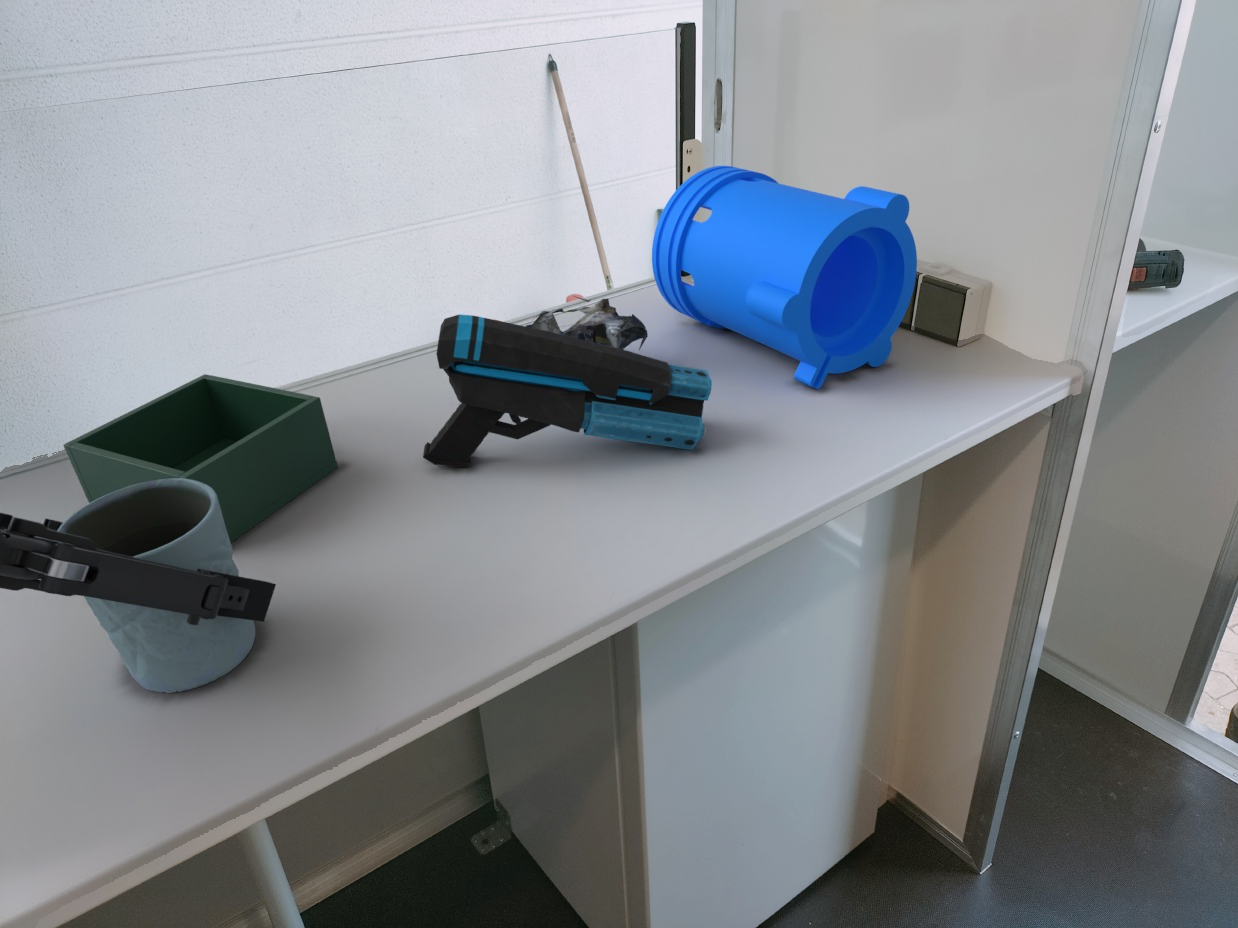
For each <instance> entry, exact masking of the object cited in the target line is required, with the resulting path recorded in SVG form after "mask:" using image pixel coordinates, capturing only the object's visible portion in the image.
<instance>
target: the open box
mask: <svg viewBox="0 0 1238 928" xmlns="http://www.w3.org/2000/svg"><path fill="white" fill-rule="evenodd" d="M321 400H322V399H321V397H320V396H315V395H311V394H305V393H301V392H295V391H291V390H286V389H281V388H276V387H270V386H266V385H261V384H258V383H257V384H256V383H252V382H251V383H250V382H246V381H241V380H237V379H231V378H227V377H222V376H216V375H213V374H207V373H205V374H202V375H200V376H198V377H196V378H195V379H192V380H190V381H188V382H186V383H184V384H182V385H180V386H178V387H176V388H173V389H172V390H170V391H168V392H166V393H164V394H162V395H160V396H158V397H156V398H154V399H152V400H150V401H148V402H145V403H144V404H142V405H140V406H138V407H136V408H134V409H132V410H130V411H128V412H126V413H124V414H122V415H119V416H118V417H116V418H113V419H112V420H110V421H108V422H106V423H104V424H102V425H100V426H97V427H96V428H94V429H92V430H90V431H88V432H85V433H84V434H82V435H80V436H78V437H75V438H74V439H71V440H70V441H67V442H65V443H64V444H63V445H62V446H63V448H64V450H65V452H66V455H67V457H68V459H69V461H70V463H71V466H72V468H73V470H74V472H75V474H76V475H75V476H76V477H77V479H78V481H79V484H80V487H81V489H82V490H83V492H84V495H85V497H86V499H87V502H88V504H89V503H91V502H92V501H94V500H96V499H98V498H100V497H102V496H105V495H107V494H109V493H112V492H114V491H117V490H120V489H122V488H125V487H128V486H132V485H135V484H139V483H144V482H149V481H154V480H160V479H172V478H185V479H191V480H195V481H198V482H201V483H204V484H206V485H208V486H210V487H211V488H212V489H213V490H214V491H215V493H216V494H217V498H218V501H219V505H220V509H221V512H222V516H223V519H224V523H225V527H226V530H227V533H228V536H229V540H230V543H231V544H232V543H233V542H234V541H235V540H237V539H238V538H240V537H241V536H242V535H244V534H245V533H247V532H248V531H250V530H251V529H253V528H254V527H255V526H256V525H258V524H259V523H261V522H263V521H264V520H265V519H267V518H268V517H270V516H271V515H272V514H274V513H275V512H278V510H280V509H281V508H282V507H284V506H285V505H287V504H288V503H289V502H291V501H292V500H294V499H295V498H296V497H298V496H299V495H301V494H302V493H303V492H306V491H307V490H308V489H309V488H311V487H312V486H314V485H315V484H317V483H318V482H319V481H321V480H322V479H324V478H325V477H326V476H328V475H329V474H330V473H332V472H334V471H335V470H336V469H338V468H339V465H338V462H337V459H336V458H337V457H336V454H335V450H334V447H333V442H332V439H331V435H330V431H329V428H328V427H329V426H328V424H327V420H326V416H325V411H324V408H323V404H322V401H321Z"/></svg>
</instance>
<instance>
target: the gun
mask: <svg viewBox="0 0 1238 928" xmlns="http://www.w3.org/2000/svg"><path fill="white" fill-rule="evenodd" d="M525 326H526V325H520V324H515V323H510V322H507V321H502V320H496V319H492V318H487V317H482V316H479V315H471V314H455V315H453V316H450V317H446V318H444V319H443V321H442V323H441V325H440V328H439V334H438V339H437V348H436V358H437V364H438V368H439V370H443V372H445V374H446V375H447V377H448V383H449V384H450V386H451V388H452V390H453V392H454V394H455V397H456V399H457V400H458V402H459V403H460V404H459V405H458V406H457V407H456V410H455V411H454V412H453V413H452V414H451V415H450V417H449V418H448V420H447V421H446V422H445V424H444V425H443V426H442V427H441V429H440V430H439V431H438V433H437V434H436V436H434V437H433V439H432V440H431V442H428V441H427V442H426V443H425V444H424V445H423V446H424V448H423V452H422V453H423V454H422V458H423V459H425V460H426V461H428V462H430V463H431V464H433V465H434V466H443V467H444V466H445V467H458V468H470V467H471V458H472V455H474V453H475V452H476V451H477V450H478V447H479V446H480V445H481V444H482V443H483V441H484V440H485V438H486V437H488V435H489V433H490V434H494V435H499V436H502V437H507V438H511V439H514V440H521V439H522V438H524V437H527V436H529V435H532V434H534V433H536V432H539V431H541V430H544V429H546V428H548V427H550V426H551V425H552V426H554V427H557V428H562V429H564V430H568V431H570V432H573V433H580V431H581V430H583V434H584V435H585V436H592V437H597V438H598V437H599V438H604V439H605V438H606V439H612V440H619V441H627V442H634V443H641V444H648V445H656V446H662V447H670V448H677V449H683V450H684V449H685V450H690V451H693V450H694V449H695V447H696V446H697V445H698V442H699V441H701V439H704V438H705V436H706V432H707V426H706V424H705V423H703V413H704V403H705V401H706V402H708V401H709V397H710V395H711V392H712V384H713V383H712V382H713V380H712V378H711V377H710V375H709V373H708V371H707V370H706V369H701V368H695V367H690V366H689V367H688V366H683V365H676V364H670V363H669V362H667V361H664V360H660V359H657V358H654V357H650V356H646V355H642V354H640V353H636V352H633V351H629V350H626V349H624V350H622V349H618V348H614V347H610V346H606V345H602V344H598V343H594V342H590V341H586V340H581V339H577V338H573V337H569V336H565V335H561V334H557V333H553V332H549V331H544V330H540V329H535V328H530V327H525ZM505 414H508V415H509V417H510V420H511V422H512V423H509V422H504V421H501V418H503V416H504V415H505ZM521 418H524V419H525V420H522V419H521ZM513 423H514V424H513Z"/></svg>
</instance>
